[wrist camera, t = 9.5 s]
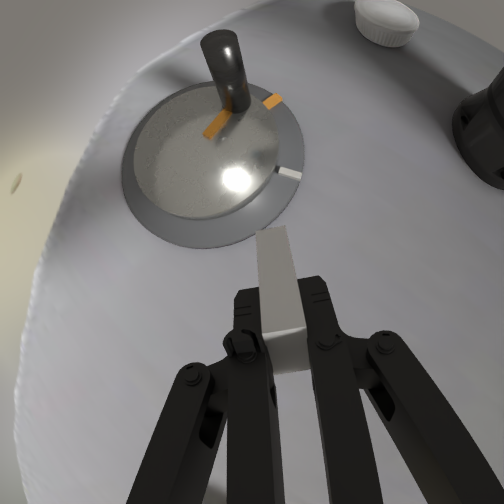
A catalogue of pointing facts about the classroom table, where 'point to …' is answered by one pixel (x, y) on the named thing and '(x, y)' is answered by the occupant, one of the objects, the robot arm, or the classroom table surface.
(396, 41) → the ramekin
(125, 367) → the classroom table surface
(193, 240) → the base plate
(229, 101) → the dial
